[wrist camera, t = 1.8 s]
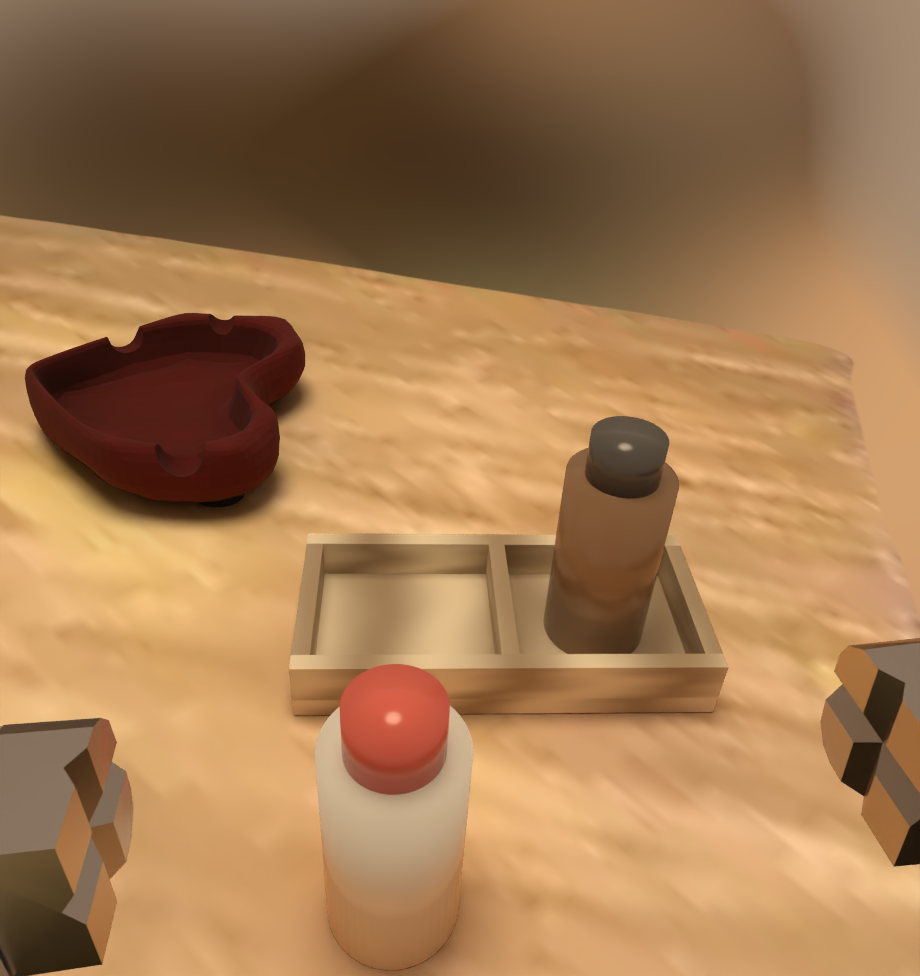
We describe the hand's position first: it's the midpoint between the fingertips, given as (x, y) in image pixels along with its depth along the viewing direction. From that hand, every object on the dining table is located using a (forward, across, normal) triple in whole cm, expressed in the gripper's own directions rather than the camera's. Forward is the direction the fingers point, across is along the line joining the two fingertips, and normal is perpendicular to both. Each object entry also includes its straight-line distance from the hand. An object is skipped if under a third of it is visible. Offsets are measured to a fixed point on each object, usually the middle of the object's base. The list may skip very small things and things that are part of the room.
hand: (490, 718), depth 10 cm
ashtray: (+44, +14, +19) cm, 50 cm away
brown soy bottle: (+24, -9, +21) cm, 33 cm away
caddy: (+25, -4, +21) cm, 33 cm away
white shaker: (+12, +2, +22) cm, 25 cm away
